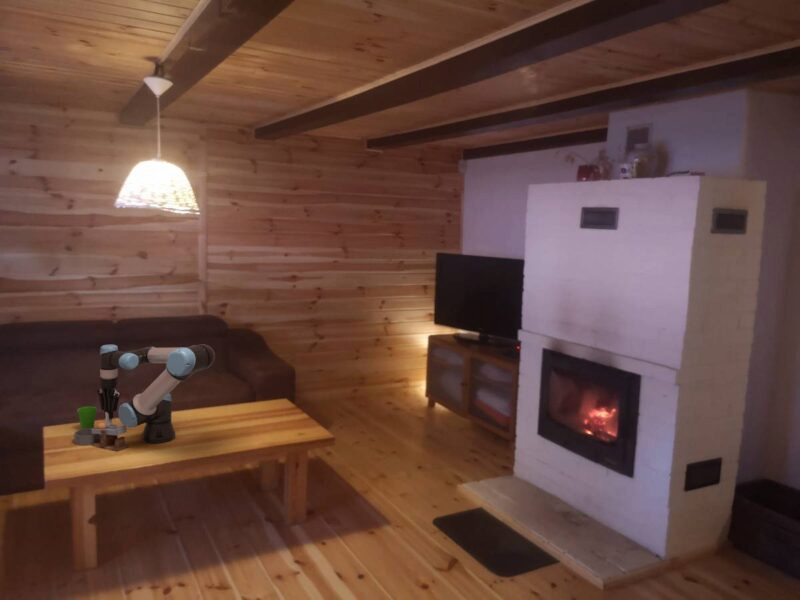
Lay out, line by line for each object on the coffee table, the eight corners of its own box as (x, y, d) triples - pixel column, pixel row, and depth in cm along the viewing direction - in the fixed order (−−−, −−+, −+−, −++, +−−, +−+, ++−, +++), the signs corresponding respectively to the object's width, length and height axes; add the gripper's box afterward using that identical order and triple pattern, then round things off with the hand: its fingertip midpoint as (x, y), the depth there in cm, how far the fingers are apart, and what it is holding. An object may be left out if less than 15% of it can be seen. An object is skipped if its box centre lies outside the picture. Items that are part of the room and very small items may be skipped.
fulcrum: (130, 446, 297) (130, 428, 296) (115, 452, 288) (115, 434, 287) (104, 440, 302) (104, 423, 301) (89, 446, 294) (89, 428, 293)
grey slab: (136, 428, 300) (136, 422, 300) (117, 435, 289) (117, 429, 289) (110, 426, 306) (110, 420, 306) (91, 433, 295) (90, 427, 295)
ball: (106, 430, 298) (108, 424, 297) (100, 432, 295) (102, 426, 294) (101, 426, 299) (103, 420, 298) (95, 428, 296) (97, 422, 295)
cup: (89, 434, 310) (89, 412, 309) (73, 432, 312) (72, 410, 310) (101, 428, 319) (101, 407, 317) (85, 426, 321) (85, 405, 319)
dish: (106, 439, 304) (106, 430, 303) (86, 446, 293) (86, 437, 293) (88, 435, 308) (88, 426, 307) (69, 442, 297) (68, 433, 297)
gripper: (125, 377, 301) (125, 425, 304) (104, 373, 306) (104, 420, 309) (113, 380, 294) (112, 429, 298) (92, 376, 299) (92, 424, 302)
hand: (108, 424), depth 303 cm, fingers closed
